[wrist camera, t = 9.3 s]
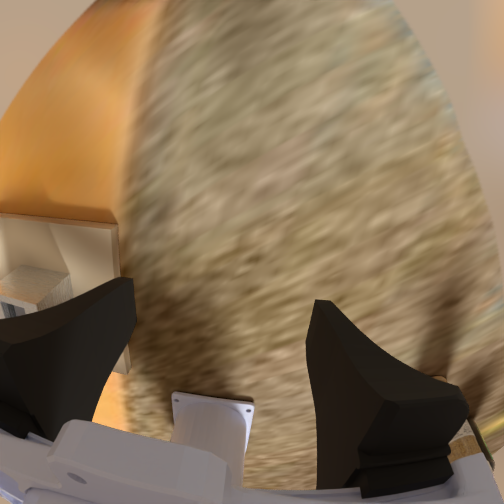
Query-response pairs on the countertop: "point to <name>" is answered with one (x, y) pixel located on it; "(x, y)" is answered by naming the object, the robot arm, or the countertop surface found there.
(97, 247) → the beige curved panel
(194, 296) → the countertop surface
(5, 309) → the hollow square tube
